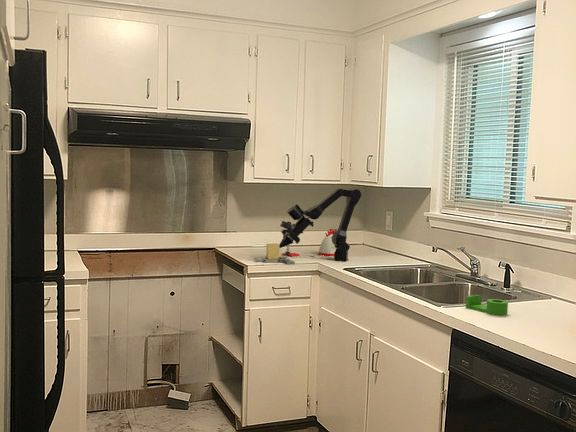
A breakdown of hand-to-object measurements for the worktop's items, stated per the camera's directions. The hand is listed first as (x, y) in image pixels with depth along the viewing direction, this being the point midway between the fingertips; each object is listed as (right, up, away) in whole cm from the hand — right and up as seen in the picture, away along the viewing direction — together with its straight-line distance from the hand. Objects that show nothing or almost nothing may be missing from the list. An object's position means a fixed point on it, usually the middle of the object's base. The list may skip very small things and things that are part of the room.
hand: (278, 247), depth 331 cm
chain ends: (-2, -7, -3) cm, 8 cm away
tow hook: (+7, -6, +24) cm, 25 cm away
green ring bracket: (+77, -19, -101) cm, 128 cm away
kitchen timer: (+29, -6, +30) cm, 43 cm away
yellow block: (-3, -7, 0) cm, 8 cm away
